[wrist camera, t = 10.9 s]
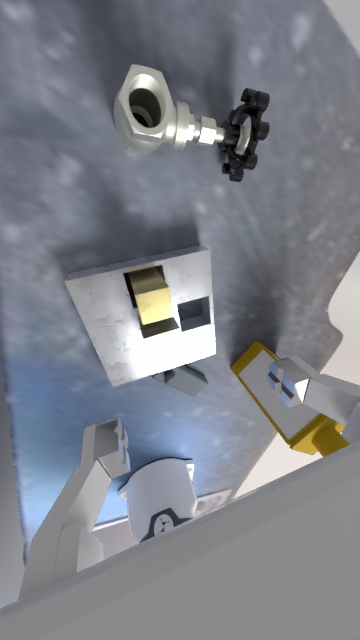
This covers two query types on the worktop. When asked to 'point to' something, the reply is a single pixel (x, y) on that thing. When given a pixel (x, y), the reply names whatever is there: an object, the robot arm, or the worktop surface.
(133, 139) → the valve
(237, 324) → the worktop surface
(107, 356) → the square plinth with cube
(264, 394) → the soap bottle
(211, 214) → the worktop surface
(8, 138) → the worktop surface
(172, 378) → the bracket
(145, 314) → the yellow rectangular block
